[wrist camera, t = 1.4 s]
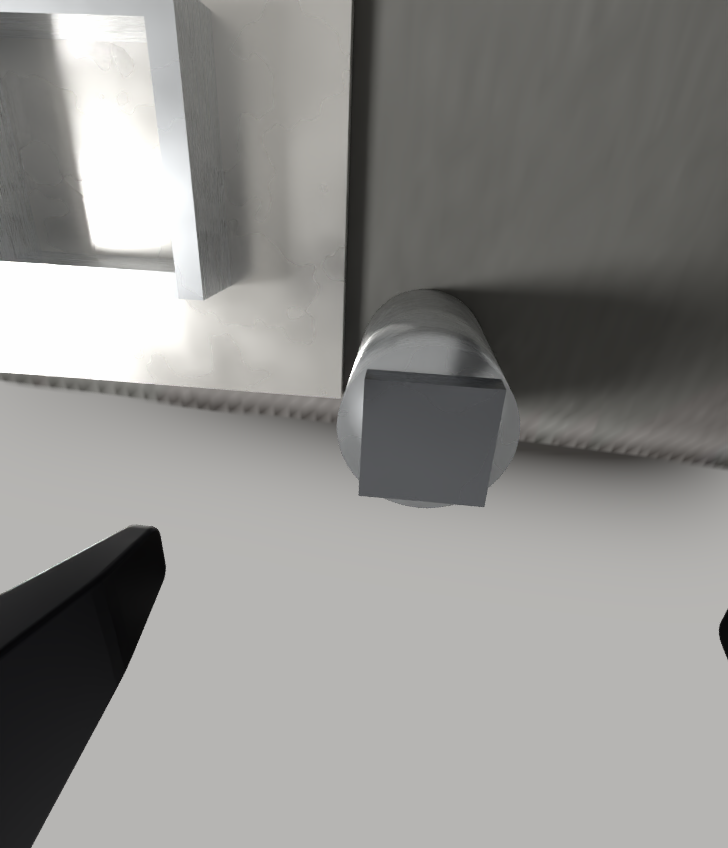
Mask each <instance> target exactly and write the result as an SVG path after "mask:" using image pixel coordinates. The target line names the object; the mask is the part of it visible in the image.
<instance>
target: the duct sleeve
mask: <svg viewBox="0 0 728 848" xmlns="http://www.w3.org/2000/svg"><path fill="white" fill-rule="evenodd" d="M519 435H520V417H519V411H518V406H517V403H516V400H515V397H514V395H513V393H512V391H511V389H510V387H509V385H508V383H507V381H506V379H505V377H504V375H503V373H502V371H501V369H500V367H499V365H498V362H497V360H496V358H495V356H494V354H493V352H492V350H491V348H490V346H489V344H488V342H487V340H486V338H485V336H484V334H483V332H482V330H481V327H480V325H479V323H478V321H477V319H476V317H475V316H474V315H473V313H472V312H471V310H470V309H469V308H468V307H467V306H466V305H465V304H464V303H462V302H461V301H460V300H458V299H457V298H455V297H453V296H452V295H449V294H447V293H444V292H441V291H437V290H430V289H419V290H411V291H408V292H404V293H402V294H399V295H397V296H395V297H393V298H391V299H390V300H388V301H387V302H386V303H384V304H383V305H382V306H381V307H380V308H379V309H378V310H377V311H376V312H375V314H374V315H373V316H372V318H371V320H370V321H369V323H368V325H367V328H366V330H365V333H364V336H363V339H362V342H361V345H360V348H359V351H358V354H357V357H356V360H355V363H354V366H353V369H352V372H351V375H350V378H349V381H348V384H347V387H346V390H345V393H344V396H343V399H342V402H341V405H340V409H339V413H338V419H337V437H338V442H339V447H340V450H341V453H342V456H343V458H344V460H345V462H346V464H347V466H348V467H349V468H350V470H351V471H352V473H353V474H354V475H355V476H356V478H357V479H358V480H359V496H368V497H379V498H385V499H387V500H389V501H392V502H395V503H398V504H402V505H405V506H412V507H418V508H435V507H444V506H450V505H453V504H457V505H468V506H478V507H484V505H485V500H486V495H487V489H488V487H490V486H491V485H492V484H493V483H494V482H495V481H496V480H497V479H498V478H499V477H500V476H501V475H502V474H503V472H504V471H505V470H506V468H507V467H508V465H509V464H510V462H511V460H512V458H513V456H514V454H515V451H516V448H517V445H518V441H519Z"/></svg>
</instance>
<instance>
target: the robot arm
mask: <svg viewBox="0 0 728 848" xmlns="http://www.w3.org/2000/svg"><path fill="white" fill-rule="evenodd" d="M165 571H166V565H165V559H164V553H163V547H162V541H161V536H160V532H159V531H158V529H157V528H155V527H153V526H143V525H130V526H128V527H126V528H124V529H122V530H120V531H118V532H116V533H114V534H113V535H111V536H109V537H107V538H105V539H103V540H101V541H100V542H98V543H96V544H94V545H92V546H90V547H88V548H86V549H84V550H83V551H81V552H79V553H77V554H75V555H73V556H71V557H69V558H68V559H66V560H64V561H62V562H60V563H58V564H56V565H54V566H52V567H51V568H49V569H47V570H45V571H43V572H41V573H40V574H37V575H36V576H34V577H32V578H30V579H28V580H26V581H25V582H22V583H21V584H19V585H17V586H15V587H13V588H11V589H9V590H8V591H6V592H4V593H2V594H0V848H31V847H32V845H33V843H34V841H35V839H36V837H37V836H38V834H39V832H40V830H41V828H42V826H43V824H44V823H45V821H46V819H47V817H48V815H49V813H50V811H51V810H52V807H53V806H54V804H55V802H56V800H57V799H58V797H59V795H60V793H61V791H62V789H63V787H64V785H65V784H66V782H67V780H68V778H69V776H70V774H71V772H72V770H73V769H74V767H75V765H76V763H77V761H78V759H79V757H80V756H81V754H82V752H83V750H84V748H85V746H86V744H87V743H88V740H89V739H90V737H91V735H92V733H93V731H94V729H95V728H96V726H97V724H98V722H99V720H100V719H101V717H102V714H103V713H104V711H105V709H106V707H107V705H108V704H109V702H110V700H111V698H112V696H113V694H114V692H115V690H116V689H117V687H118V685H119V683H120V681H121V679H122V677H123V675H124V673H125V671H126V669H127V667H128V664H129V662H130V660H131V658H132V655H133V653H134V651H135V648H136V646H137V643H138V641H139V639H140V636H141V634H142V631H143V629H144V626H145V624H146V621H147V619H148V617H149V614H150V612H151V609H152V607H153V605H154V602H155V600H156V597H157V595H158V593H159V590H160V588H161V585H162V583H163V580H164V577H165ZM719 636H720V640H721V644H722V646H723V649H724V651H725V654H726V656H727V659H728V610H727V612H726V613H725V615H724V617H723V619H722V621H721V623H720V627H719Z"/></svg>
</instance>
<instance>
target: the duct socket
mask: <svg viewBox="0 0 728 848" xmlns="http://www.w3.org/2000/svg"><path fill="white" fill-rule="evenodd" d="M353 26H354V0H0V372H7V373H20V374H32V375H45V376H58V377H71V378H83V379H96V380H109V381H122V382H134V383H147V384H160V385H173V386H185V387H198V388H211V389H224V390H236V391H249V392H262V393H275V394H287V395H300V396H313V397H326V398H338V399H341V397H342V394H343V374H344V339H345V304H346V269H347V235H348V200H349V165H350V130H351V96H352V61H353Z"/></svg>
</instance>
